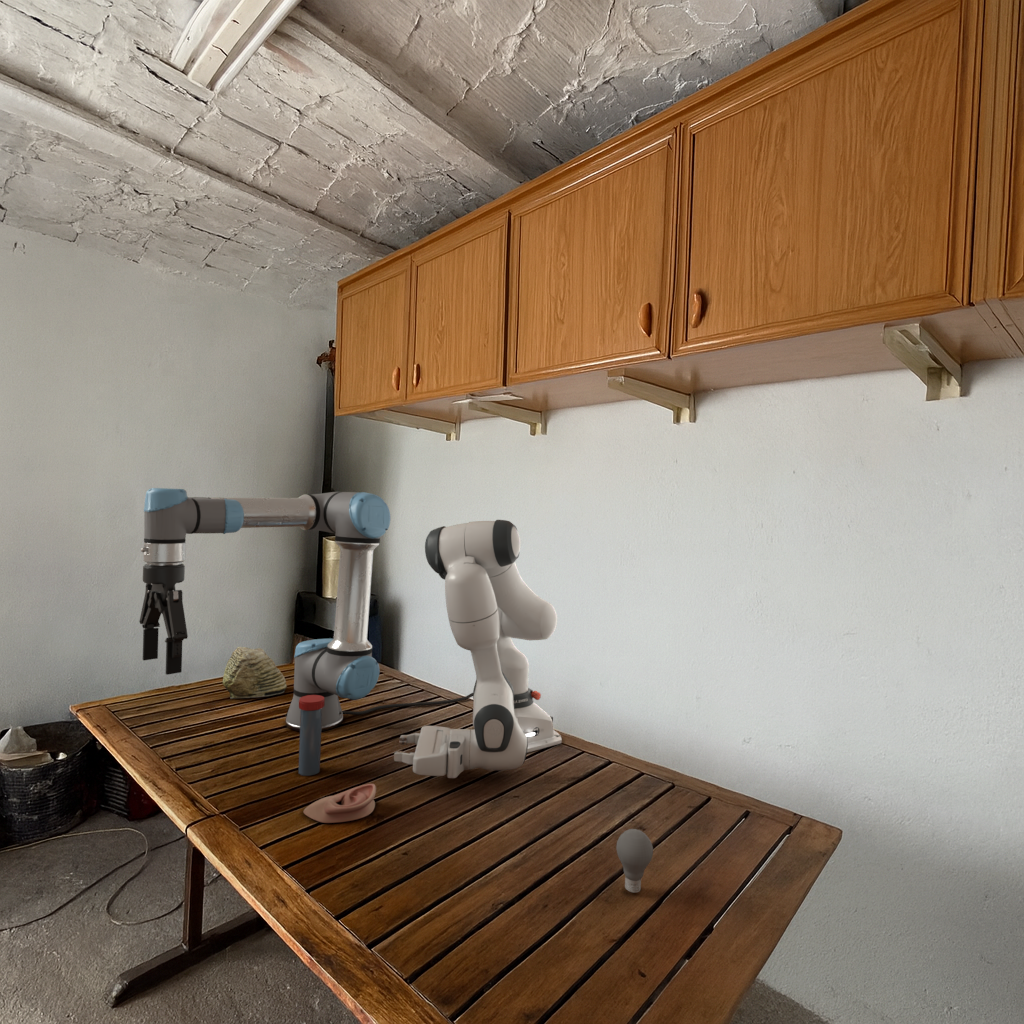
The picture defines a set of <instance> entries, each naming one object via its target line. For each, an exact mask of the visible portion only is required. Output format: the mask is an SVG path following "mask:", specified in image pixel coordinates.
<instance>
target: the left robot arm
mask: <svg viewBox="0 0 1024 1024" xmlns="http://www.w3.org/2000/svg"><path fill="white" fill-rule="evenodd" d="M143 513H144V515H143V518H144V520H143V522H144V523H143V547H141V548H140V552H141V553H143V562H144V563H146V564H143V566H142V582H144V584H145V590H144V591H145V592H144V598H143V601H142V607H141V612H140V617H139V624H140V625H141V626H142V631H143V632H142V661H150V660H151V661H152V660H157V659H159V628H160V627H161V624H160V622H159V621H160V618H161V615H162V618H163V621H164V622H163V623H164V627H165V630H166V634H167V637H166V638H165V640H164V643H165V644H166V647H165V675H166V676H169V675H174V674H180V673H183V671H182V669H183V668H182V667H183V641H184V640H186V639H188V637H189V635H188V629H187V623H186V617H185V607H184V601H183V590H182V589H176V584H180V583H183V582H184V581H185V569H186V566H185V565H184V564H183V562H185V561H186V550H187V549H186V548H187V547H186V546H187V545H186V544H187V543H186V541H187V540H186V535H187V534H188V535H192V534H223V535H225V534H231V533H237V532H239V531H240V530H241V529H250V528H251V529H253V528H257V529H258V528H291V527H293V528H295V527H298V528H300V529H301V530H303V531H318V532H319V531H320V532H326V533H330V534H334V535H335V536H334V543H335V544H336V545H337V546H338V547H339V550H340V551H339V562H338V575H337V576H338V577H337V591H336V604H335V616H334V617H335V618H334V631H333V638H317V639H308V640H304V641H300V642H299V643H297V645H296V646H295V650H294V655H293V657H294V672H293V673H294V674H293V695H292V696H293V697H292V699H291V702H290V704H289V708H288V710H287V712H286V713H285V716H284V718H285V726H286V728H287V729H289V730H291V731H294V732H295V731H296V732H300V714H301V709H300V708H299V699H300V698H301V697H303V696H307V695H320V696H323V697H324V700H325V701H324V707H323V708H322V728H321V732H325V731H329V730H332V729H335V728H337V727H339V726H340V725H342V723H343V722H344V715H345V716H347V715H351V716H363V715H367V714H369V713H372V712H375V711H379V710H384V709H393V708H405V707H406V708H407V707H423V706H437V705H446V704H452V703H457V702H458V703H459V702H462V701H466V700H469V699H470V698H473V692H471V693H469V694H467V695H466V696H462V697H457V698H452V699H446V700H445V699H444V700H435V701H422V702H403V703H392V704H391V703H390V704H385V705H377V706H374V707H371V708H368V709H365V710H360V711H354V710H343V709H342V706H341V702H340V699H339V698H342V699H347V700H353V701H357V700H360V699H363V698H364V697H366V696H368V695H369V694H370V693H371V691H372V690H373V689H375V687H376V686H377V683H378V680H379V678H380V673H381V672H380V671H381V670H380V664H379V662H377V660H376V659H375V658H374V657H373V645H372V643H371V642H370V641H369V640H368V631H369V616H370V604H371V603H370V602H371V589H372V575H373V574H372V573H373V561H374V551H375V549H376V548H377V547H379V546H380V543H381V537H383V536H384V535H385V534H386V532H387V531H388V530H389V528H390V525H391V512H390V508H389V506H388V504H387V502H385V500H384V499H383V498H382V497H381V496H379V495H377V494H375V493H371V492H366V491H361V492H360V491H359V492H358V491H357V492H356V491H332V492H331V491H329V492H323V493H313V494H312V493H311V494H309V493H308V494H306V493H305V494H301V495H300V496H299V497H234V496H233V497H232V496H231V497H230V496H229V497H227V496H226V497H223V496H221V497H220V496H217V497H216V496H208V497H206V496H205V497H204V496H188V493H187V490H185V489H184V488H166V487H165V488H163V487H151V488H149V489H148V490H146V492H145V498H144V507H143Z"/></svg>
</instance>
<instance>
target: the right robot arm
mask: <svg viewBox="0 0 1024 1024" xmlns="http://www.w3.org/2000/svg"><path fill="white" fill-rule="evenodd" d="M521 541H522V540H521V536H520V533H519V531H518V529H517V526H516V525H515V524H514V523H513V522H511V521H510V520H505V519H496V520H475V521H469V522H463V523H458V524H457V523H456V524H453V525H449V526H445V525H444V526H440V527H436V528H433V529H432V530H431V531H429V533H428V534H427V536H426V538H425V542H424V552H425V559H426V561H427V564H428V565H429V566H430V568H431V569H432V570H433V571H434V572H435V573H436V574H438V576H439V577H440V578H441V579H442V580H444V595H445V605H446V606H445V607H446V611H447V617H448V623H449V627H450V630H451V632H452V636H453V638H454V640H455V642H456V645H457V646H459V647H460V648H462V649H464V650H466V651H469V652H470V655H471V659H472V663H473V667H474V672H475V676H476V677H475V683H474V686H473V691H472V693H473V696H472V698H473V699H472V700H473V704H472V705H473V706H472V726H473V729H469V728H468V729H466V728H464V729H463V728H450V727H446V726H437V725H424V726H421V728H420V732H415V733H411V734H401V735H400V737H399V745H400V746H403V745H404V746H407V745H409V744H414V745H416V746H415V751H414V752H409V753H408V752H403V750H396V751H394V753H393V761H394V762H401V763H403V764H406V765H412V773H414V774H416V775H419V776H425V777H426V776H427V777H443V776H446V777H447V779H457V778H458V776H459V775H460V774H461V773H462V772H464V771H473V770H476V769H482V770H486V771H510V770H516V769H519V768H521V767H523V765H524V763H525V762H526V758H527V755H528V753H532V752H535V751H539V750H542V749H546V748H551V747H554V746H557V745H560V744H562V742H563V739H562V736H561V734H560V733H559V732H558V731H557V730H555V729H554V717H553V716H551V715H550V714H549V713H548V712H546V711H545V710H544V709H543V708H541V707H540V706H539V705H538V704H537V703H536V702H534V700H536V701H539V700H540V699H541V698H542V694H541V692H539V691H537V690H533V689H532V688H529V675H530V663H529V659H528V657H527V656H526V654H524V653H523V652H522V651H520V649H518V648H517V647H516V645H515V644H514V641H513V639H518V640H524V641H542V640H543V641H544V640H545V641H546V640H548V639H549V638H550V637H552V635H553V634H554V633H555V630H556V628H557V626H558V614H557V611H556V608H555V607H554V605H553V604H552V603H550V602H548V601H547V600H545V599H543V598H541V596H539V595H537V593H535V592H534V591H533V589H531V587H529V586H528V585H527V583H526V582H525V580H524V579H523V578H522V576H521V573H520V571H519V569H518V566H517V562H516V561H517V559H518V558H519V556H520V551H521V546H522V545H521V544H522V543H521Z"/></svg>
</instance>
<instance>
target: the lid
mask: <svg viewBox="0 0 1024 1024" xmlns="http://www.w3.org/2000/svg"><path fill="white" fill-rule="evenodd" d="M324 701H325V700H324V697H323V696H320V695H307V696H303V697H301V698H300V699H299V708H300V709H302V710H308V711H311V710H318V709H321V708H323V707H324Z"/></svg>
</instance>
